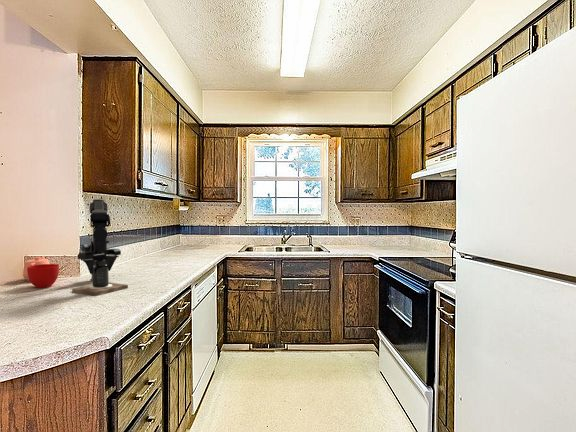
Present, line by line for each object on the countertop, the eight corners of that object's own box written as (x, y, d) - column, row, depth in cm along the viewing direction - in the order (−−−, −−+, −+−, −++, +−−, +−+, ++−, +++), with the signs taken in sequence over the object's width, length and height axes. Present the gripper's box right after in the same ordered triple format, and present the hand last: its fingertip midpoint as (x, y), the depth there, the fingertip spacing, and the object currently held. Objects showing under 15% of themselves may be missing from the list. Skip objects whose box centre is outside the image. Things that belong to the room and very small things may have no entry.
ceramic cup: (50, 281, 194) (50, 262, 194) (63, 286, 183) (63, 265, 183) (21, 285, 184) (20, 265, 184) (32, 290, 173) (32, 269, 173)
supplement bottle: (111, 284, 178) (111, 259, 178) (103, 287, 172) (102, 261, 171) (98, 284, 179) (97, 259, 179) (89, 287, 172) (88, 261, 172)
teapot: (44, 282, 192) (44, 258, 192) (17, 283, 189) (17, 259, 189) (56, 275, 212) (55, 254, 211) (31, 276, 208) (31, 254, 208)
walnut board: (105, 284, 187) (104, 281, 186) (127, 287, 179) (127, 284, 179) (72, 291, 171) (72, 287, 171) (95, 295, 164) (95, 291, 164)
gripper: (105, 236, 187) (106, 268, 187) (69, 239, 170) (70, 274, 170) (121, 237, 182) (121, 269, 182) (85, 240, 165) (86, 276, 165)
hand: (100, 272), depth 175 cm, fingers open, 9 cm apart
